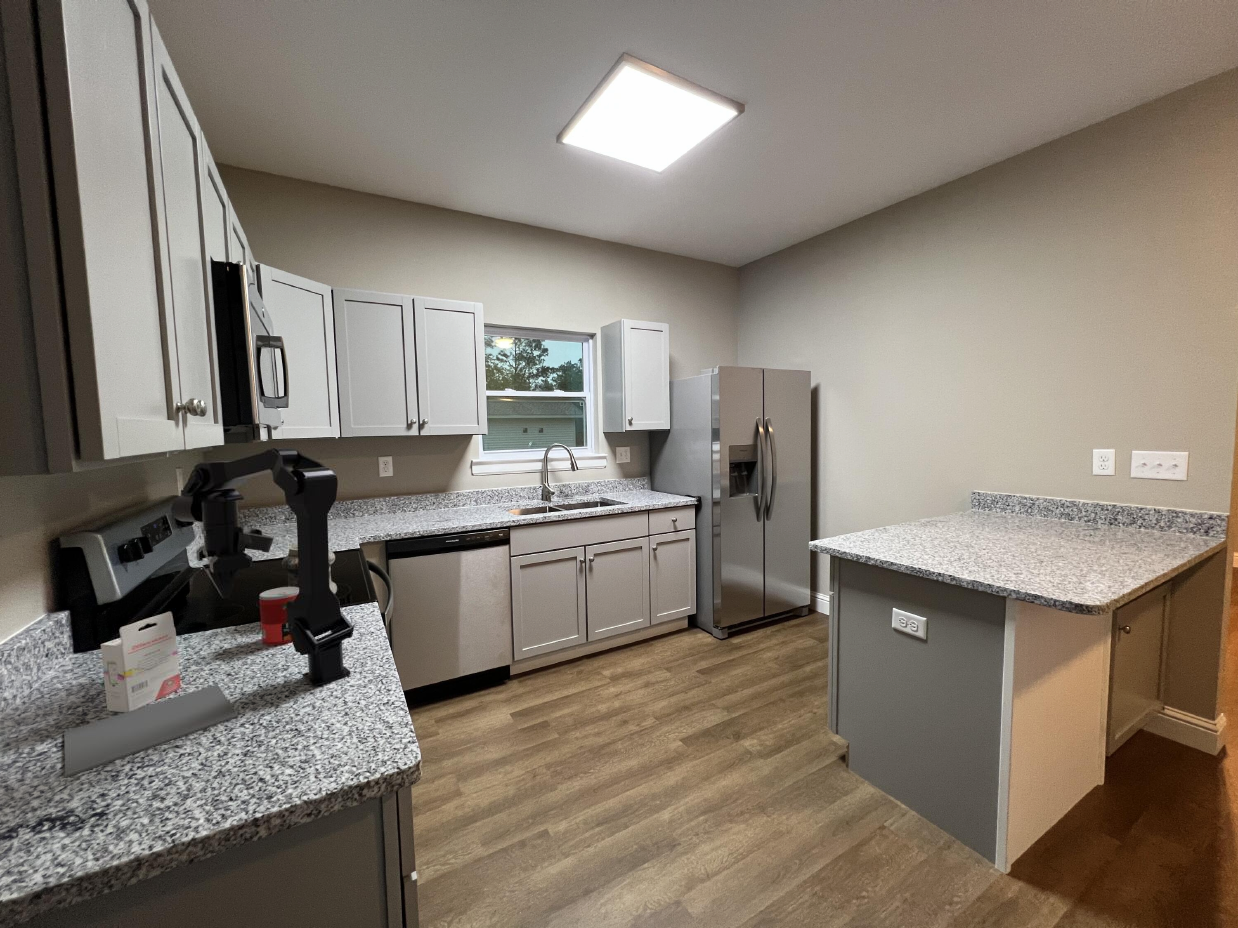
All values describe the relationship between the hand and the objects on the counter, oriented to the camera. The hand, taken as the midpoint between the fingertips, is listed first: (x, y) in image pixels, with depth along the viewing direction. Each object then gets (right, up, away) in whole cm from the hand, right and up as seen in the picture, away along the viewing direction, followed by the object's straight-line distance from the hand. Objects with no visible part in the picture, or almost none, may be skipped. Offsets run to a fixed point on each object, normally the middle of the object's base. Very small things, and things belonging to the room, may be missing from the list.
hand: (226, 597), depth 103 cm
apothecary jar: (0, -12, +28) cm, 30 cm away
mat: (+6, -14, -23) cm, 27 cm away
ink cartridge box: (-3, -14, -15) cm, 21 cm away
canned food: (+4, -13, +11) cm, 17 cm away
